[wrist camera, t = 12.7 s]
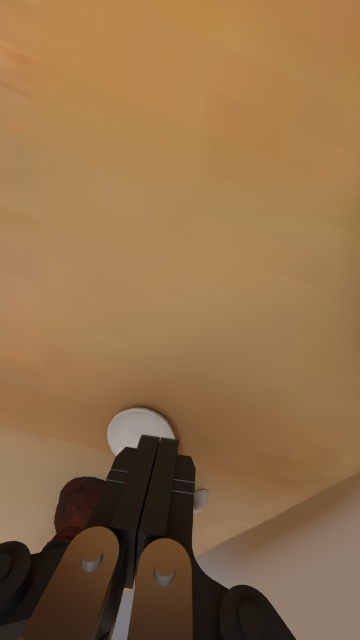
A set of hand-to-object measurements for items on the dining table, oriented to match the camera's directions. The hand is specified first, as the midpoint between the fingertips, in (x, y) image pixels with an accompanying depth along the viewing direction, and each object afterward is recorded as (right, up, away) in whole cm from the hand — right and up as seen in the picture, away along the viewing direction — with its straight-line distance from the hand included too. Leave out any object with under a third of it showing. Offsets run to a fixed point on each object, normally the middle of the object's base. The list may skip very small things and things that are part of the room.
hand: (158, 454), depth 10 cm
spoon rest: (-2, -19, +39) cm, 43 cm away
